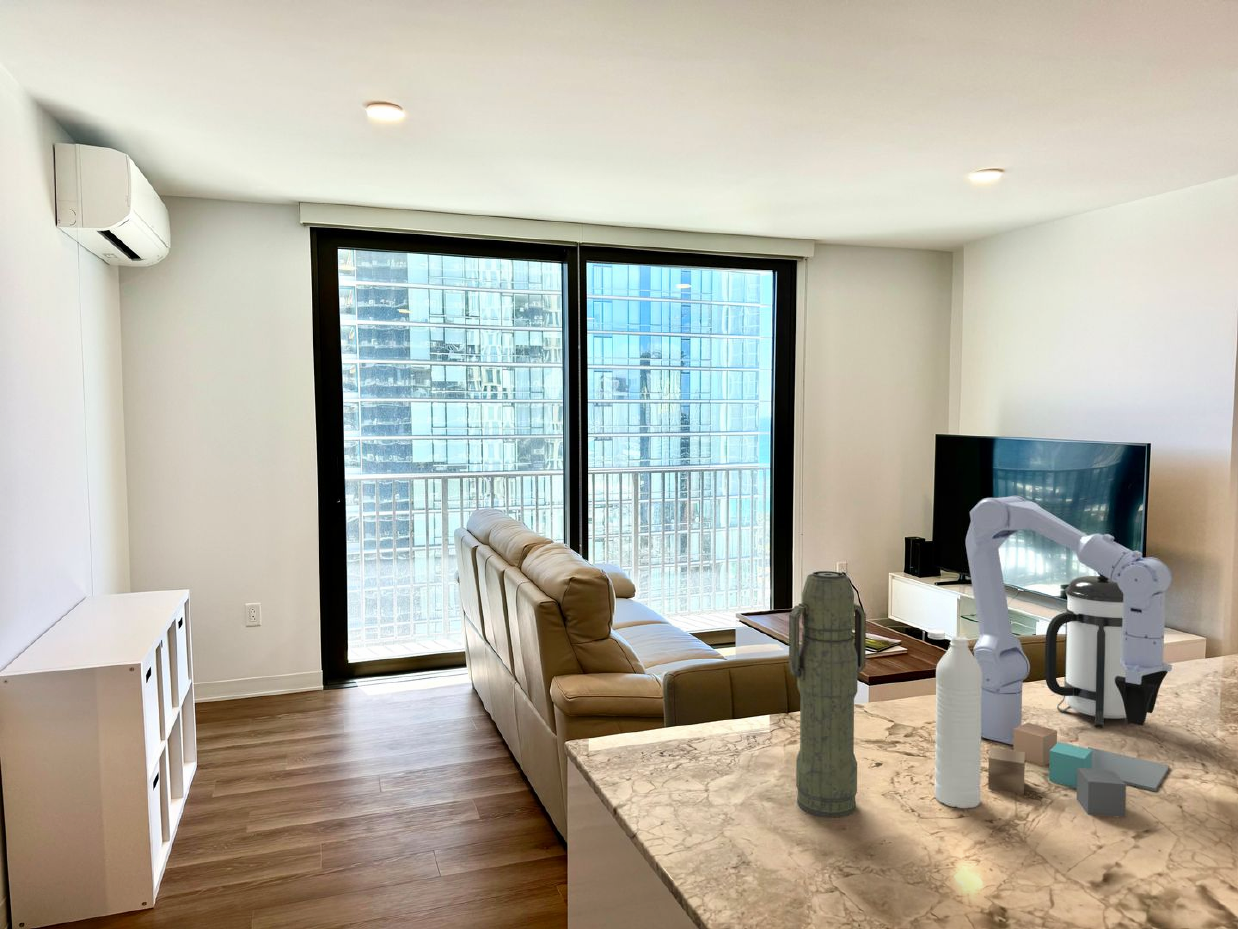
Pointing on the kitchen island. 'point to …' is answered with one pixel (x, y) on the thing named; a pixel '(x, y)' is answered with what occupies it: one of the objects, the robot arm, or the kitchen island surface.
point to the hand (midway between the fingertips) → (1140, 717)
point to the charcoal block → (1101, 792)
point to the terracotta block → (1035, 742)
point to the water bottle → (957, 725)
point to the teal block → (1068, 763)
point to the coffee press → (1089, 648)
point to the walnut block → (1006, 770)
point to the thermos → (827, 692)
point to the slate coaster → (1130, 768)
